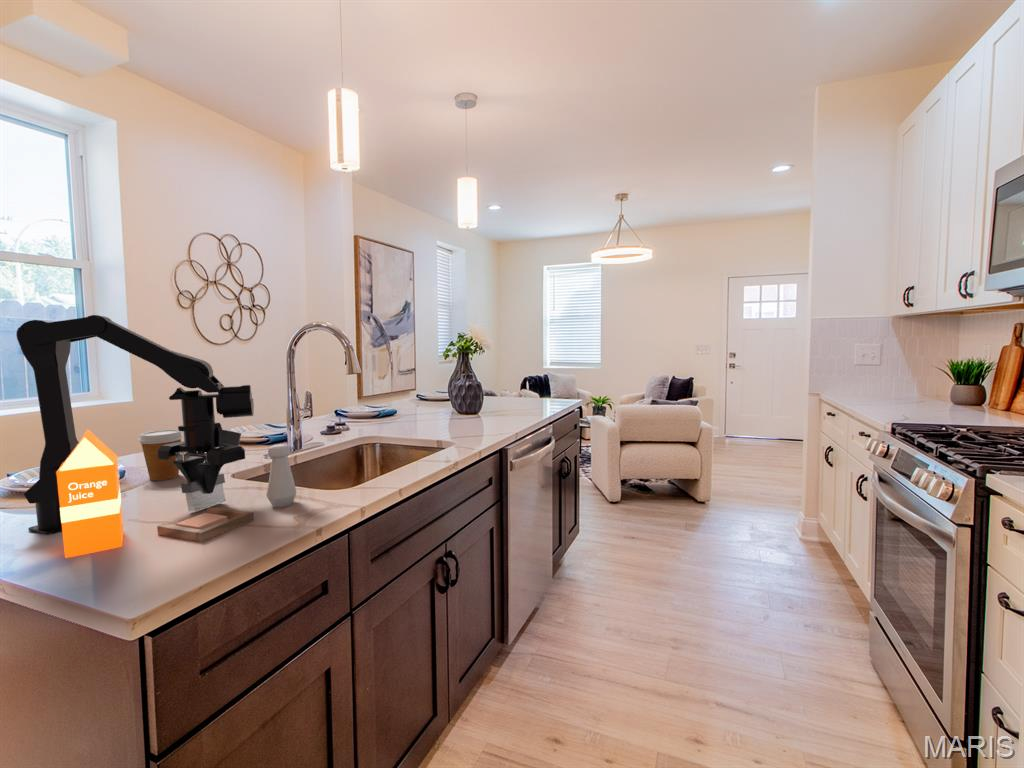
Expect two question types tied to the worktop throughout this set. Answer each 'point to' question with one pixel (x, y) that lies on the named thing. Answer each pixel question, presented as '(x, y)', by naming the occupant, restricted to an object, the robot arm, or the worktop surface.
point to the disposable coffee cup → (150, 447)
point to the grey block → (203, 493)
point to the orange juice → (90, 498)
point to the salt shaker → (280, 477)
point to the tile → (202, 521)
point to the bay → (234, 521)
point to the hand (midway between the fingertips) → (204, 492)
